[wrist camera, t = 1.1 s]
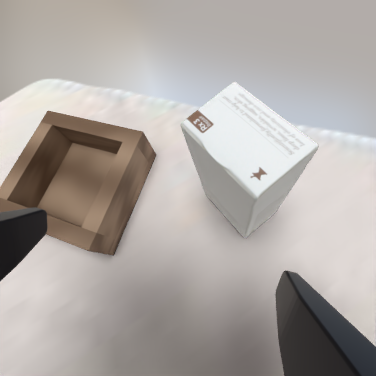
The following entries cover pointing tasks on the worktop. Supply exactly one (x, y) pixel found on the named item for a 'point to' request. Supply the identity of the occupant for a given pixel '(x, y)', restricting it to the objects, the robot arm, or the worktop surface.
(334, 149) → the worktop surface
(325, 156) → the worktop surface
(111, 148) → the walnut socket
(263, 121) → the skincare box
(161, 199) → the worktop surface
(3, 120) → the worktop surface
